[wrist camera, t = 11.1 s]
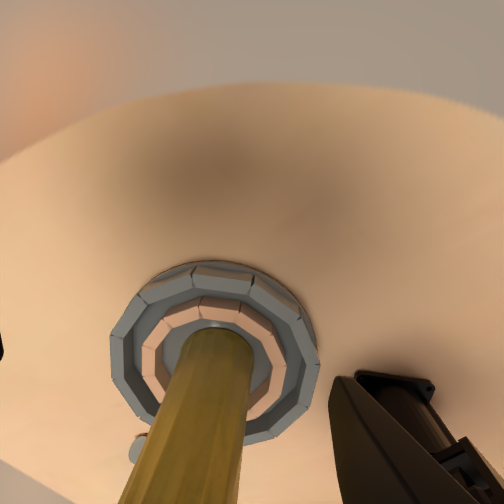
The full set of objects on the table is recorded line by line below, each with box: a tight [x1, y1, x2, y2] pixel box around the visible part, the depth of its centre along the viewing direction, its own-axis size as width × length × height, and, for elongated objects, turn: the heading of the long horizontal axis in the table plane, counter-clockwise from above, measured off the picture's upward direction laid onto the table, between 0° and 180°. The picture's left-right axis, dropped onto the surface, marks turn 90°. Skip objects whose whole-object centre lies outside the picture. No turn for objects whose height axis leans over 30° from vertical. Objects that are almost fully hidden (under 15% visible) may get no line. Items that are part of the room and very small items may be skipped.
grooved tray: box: [110, 261, 320, 446], centre depth 21 cm, size 16×16×2 cm
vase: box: [118, 328, 254, 504], centre depth 15 cm, size 6×6×14 cm
